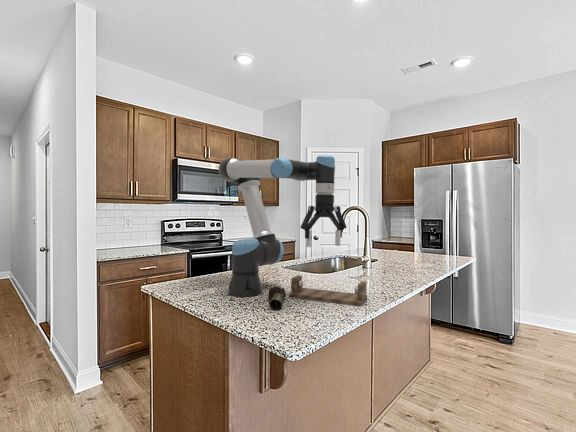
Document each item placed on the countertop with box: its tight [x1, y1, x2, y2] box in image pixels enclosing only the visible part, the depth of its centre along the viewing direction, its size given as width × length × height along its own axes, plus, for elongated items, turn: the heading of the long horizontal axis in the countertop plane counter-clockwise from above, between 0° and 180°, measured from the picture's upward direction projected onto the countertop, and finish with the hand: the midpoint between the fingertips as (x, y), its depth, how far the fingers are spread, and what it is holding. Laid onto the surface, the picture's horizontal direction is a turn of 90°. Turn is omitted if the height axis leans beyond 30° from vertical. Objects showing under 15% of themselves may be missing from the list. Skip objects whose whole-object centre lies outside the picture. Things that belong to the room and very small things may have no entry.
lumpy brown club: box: [267, 285, 287, 311], centre depth 128 cm, size 18×7×6 cm, turn 175°
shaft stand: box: [288, 274, 368, 307], centre depth 135 cm, size 30×12×8 cm, turn 65°
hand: (323, 246), depth 132 cm, fingers open, 13 cm apart
